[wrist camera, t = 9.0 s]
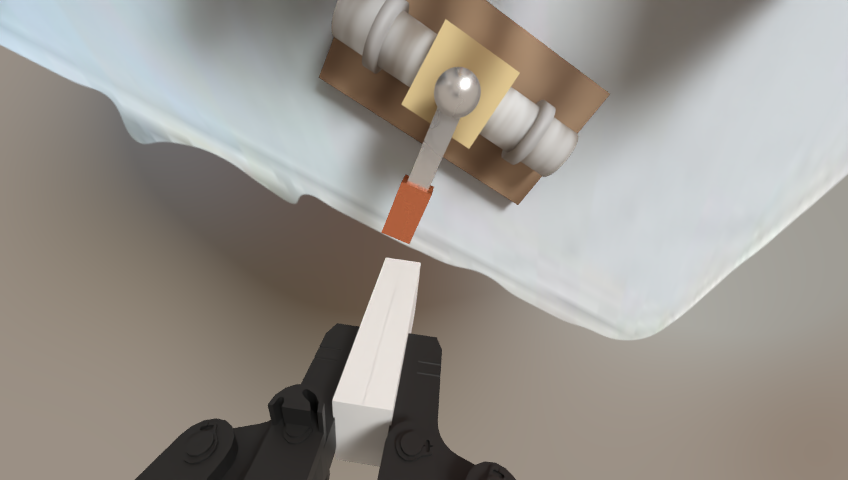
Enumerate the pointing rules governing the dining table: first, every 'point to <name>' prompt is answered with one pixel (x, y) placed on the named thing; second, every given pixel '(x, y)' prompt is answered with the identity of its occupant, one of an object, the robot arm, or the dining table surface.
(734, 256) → the dining table surface
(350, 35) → the valve stand
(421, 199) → the valve lever
